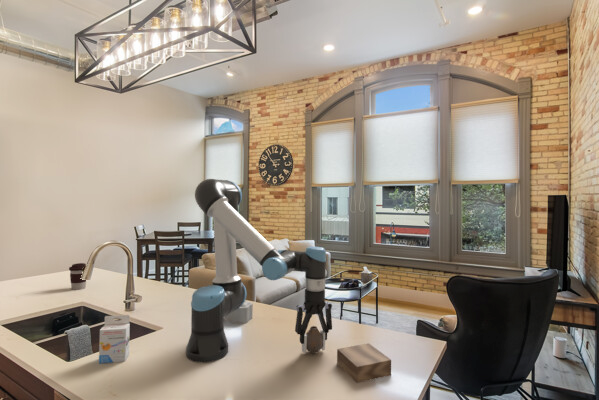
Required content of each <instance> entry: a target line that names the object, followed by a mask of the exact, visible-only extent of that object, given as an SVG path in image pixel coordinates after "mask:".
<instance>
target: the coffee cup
mask: <svg viewBox="0 0 599 400" xmlns="http://www.w3.org/2000/svg"><path fill="white" fill-rule="evenodd" d="M85 265H87V264H86V263H83V262H80V263H73V264H72V265H71V266H70V267H69V268H68V271H70V273H69V277H70V279H69V280H70V285H71V286H70V288H71V290H73V291H74V290H75V291H77V290H83V289H85V288H86V287H87V281H86V280H82V279H80V278H81V275H82V268H83V267H84V266H85Z"/></svg>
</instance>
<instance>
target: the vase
mask: <svg viewBox="0 0 599 400" xmlns="http://www.w3.org/2000/svg"><path fill="white" fill-rule="evenodd" d="M305 334H306V335H307V346H306V352H309V353H311V354H317V353H319V352H320V351H321V350H322V349H321V348H322V344H323V338H322V335H321V333H320V330H319V329H318V327H317V326H314V325H313V326H312V325H311V326H310V328H309V329H308V331H307V332H305Z"/></svg>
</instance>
